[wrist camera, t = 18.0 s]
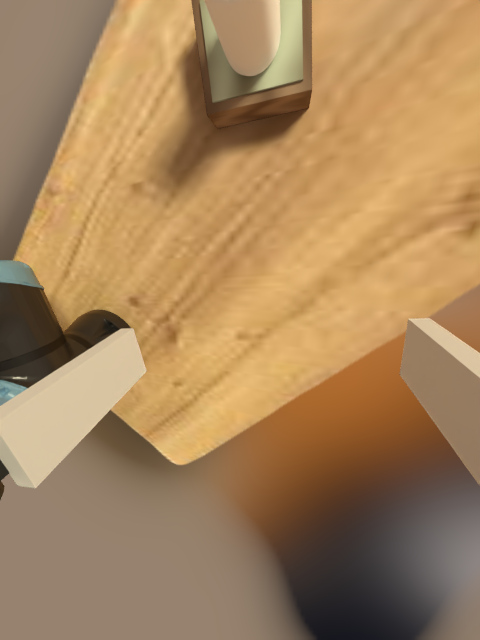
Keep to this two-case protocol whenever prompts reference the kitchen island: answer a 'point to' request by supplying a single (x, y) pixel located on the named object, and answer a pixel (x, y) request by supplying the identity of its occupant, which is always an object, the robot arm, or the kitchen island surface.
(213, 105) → the plinth
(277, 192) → the kitchen island surface
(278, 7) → the can
